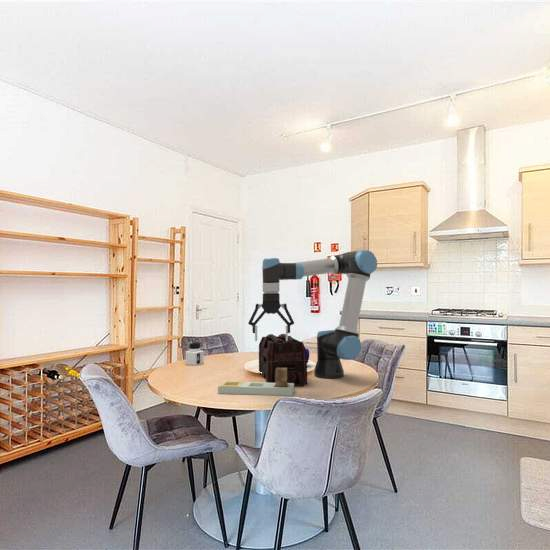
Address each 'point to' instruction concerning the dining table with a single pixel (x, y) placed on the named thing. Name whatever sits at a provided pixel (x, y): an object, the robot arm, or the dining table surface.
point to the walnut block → (281, 377)
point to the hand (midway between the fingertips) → (271, 340)
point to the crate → (283, 359)
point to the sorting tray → (254, 388)
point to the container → (194, 354)
